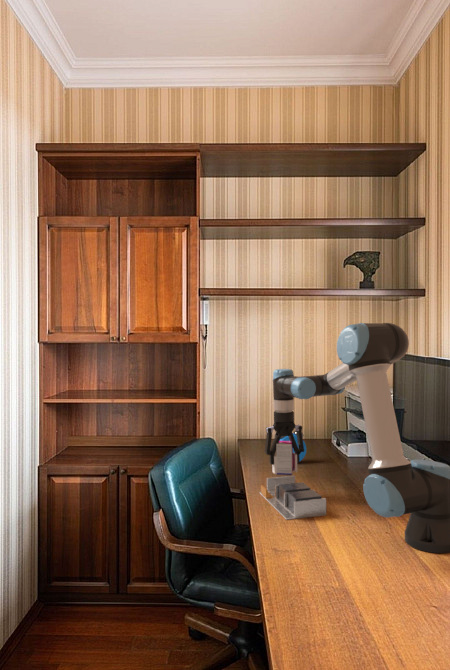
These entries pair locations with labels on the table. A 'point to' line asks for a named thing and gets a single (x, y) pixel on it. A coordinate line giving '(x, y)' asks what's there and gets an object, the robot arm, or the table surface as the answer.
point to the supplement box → (284, 458)
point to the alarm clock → (286, 438)
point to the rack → (293, 498)
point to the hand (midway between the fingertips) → (284, 471)
